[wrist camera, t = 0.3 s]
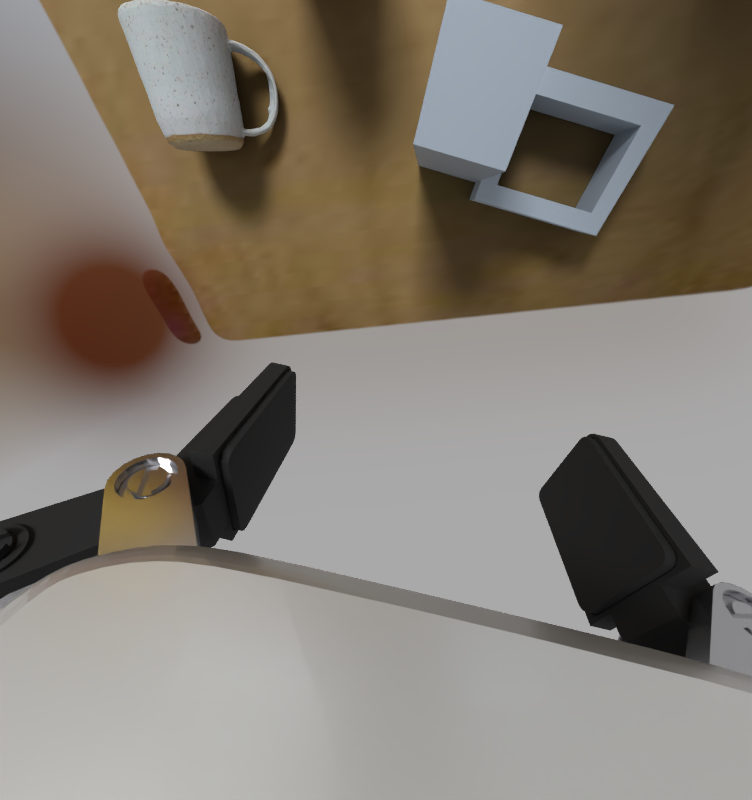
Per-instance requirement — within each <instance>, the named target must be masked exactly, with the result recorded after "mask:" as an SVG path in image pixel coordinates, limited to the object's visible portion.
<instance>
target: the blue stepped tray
mask: <svg viewBox="0 0 752 800" xmlns="http://www.w3.org/2000/svg"><path fill="white" fill-rule="evenodd" d="M562 27H563V25H561V24H558V23H555V22H551V21H548V20H545V19H541V18H538V17H535V16H532V15H528V14H525V13H522V12H519V11H515V10H512V9H509V8H506V7H502V6H499V5H496V4H492V3H489V2H486V1H483V0H447V4H446V8H445V12H444V16H443V21H442V25H441V29H440V33H439V38H438V42H437V46H436V50H435V55H434V59H433V63H432V67H431V72H430V76H429V80H428V84H427V88H426V93H425V97H424V101H423V105H422V110H421V114H420V118H419V122H418V127H417V131H416V135H415V139H414V144H413V145H414V149H415V153H416V157H417V161H418V165H419V166H421V167H425V168H428V169H431V170H435V171H438V172H441V173H445V174H448V175H452V176H455V177H458V178H462V179H465V180H469V181H472V182H475V185H474V188H473V191H472V193H471V196H470V199H469V200H471V201H475V202H478V203H481V204H485V205H488V206H492V207H495V208H498V209H502V210H505V211H509V212H512V213H515V214H519V215H522V216H526V217H529V218H532V219H536V220H539V221H543V222H546V223H549V224H553V225H556V226H560V227H563V228H566V229H570V230H573V231H577V232H581V233H585V234H590V235H595V236H596V235H597V233H598V232H599V230H600V228H601V227H602V225H603V223H604V222H605V220H606V218H607V217H608V215H609V213H610V212H611V210H612V208H613V207H614V205H615V203H616V202H617V200H618V199H619V197H620V195H621V194H622V192H623V190H624V189H625V187H626V185H627V184H628V182H629V180H630V179H631V177H632V175H633V174H634V172H635V170H636V169H637V167H638V165H639V164H640V162H641V160H642V159H643V157H644V155H645V154H646V152H647V150H648V149H649V147H650V145H651V144H652V142H653V140H654V139H655V137H656V135H657V134H658V132H659V130H660V129H661V127H662V125H663V124H664V122H665V120H666V119H667V117H668V115H669V114H670V112H671V110H672V109H673V107H674V105H673V104H669V103H666V102H663V101H659V100H656V99H653V98H649V97H646V96H643V95H640V94H636V93H633V92H630V91H626V90H623V89H620V88H617V87H613V86H610V85H607V84H603V83H600V82H597V81H594V80H590V79H587V78H584V77H580V76H577V75H574V74H570V73H567V72H564V71H561V70H557V69H554V68H551V67H547V65H548V62H549V60H550V57H551V55H552V52H553V49H554V47H555V44H556V42H557V39H558V37H559V34H560V32H561V29H562ZM530 109H531V110H534V111H537V112H541V113H544V114H547V115H551V116H554V117H557V118H560V119H564V120H567V121H570V122H574V123H577V124H580V125H584V126H587V127H590V128H594V129H597V130H600V131H604V132H607V133H610V134H614V137H613V139H612V141H611V143H610V144H609V146H608V148H607V150H606V152H605V154H604V156H603V158H602V159H601V161H600V163H599V165H598V167H597V169H596V171H595V172H594V174H593V176H592V178H591V180H590V182H589V184H588V185H587V187H586V189H585V191H584V193H583V195H582V197H581V198H580V200H579V202H578V204H577V206H576V208H573V207H570V206H566V205H563V204H560V203H556V202H553V201H549V200H546V199H543V198H539V197H536V196H533V195H529V194H526V193H522V192H519V191H516V190H512V189H509V188H506V187H502V186H499V185H497V184H498V181H499V179H500V176H501V174H502V173H503V172H505V171H506V169H507V166H508V164H509V161H510V159H511V156H512V154H513V151H514V148H515V146H516V143H517V141H518V138H519V136H520V133H521V131H522V128H523V126H524V123H525V121H526V118H527V115H528V113H529V110H530Z"/></svg>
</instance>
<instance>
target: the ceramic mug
mask: <svg viewBox="0 0 752 800" xmlns="http://www.w3.org/2000/svg"><path fill="white" fill-rule="evenodd" d="M118 17H119V21H120V23H121V26H122V28H123V31H124V33H125V36H126V39H127V41H128V44H129V47H130V49H131V52H132V55H133V58H134V60H135V63H136V66H137V68H138V71H139V74H140V76H141V79H142V81H143V84H144V87H145V89H146V92H147V94H148V97H149V100H150V103H151V106H152V109H153V111H154V114H155V117H156V119H157V122H158V124H159V126H160V128H161V130H162V132H163V134H164V136H165V138H166V140H167V141H168V142H169V144H171V145H172V146H173V147H175V148H176V149H181V150H189V151H232V150H238V149H241V147H242V146H243V144H244V137H245V136H252V137H253V136H258V135H261V134H264V133H266V132H267V131H269V130H270V129H271V128H272V127H273V125H274V123H275V121H276V118H277V114H278V93H277V87H276V82H275V79H274V76H273V75H272V73H271V71H270V69H269V67H268V66H267V64H266V63H265V62H264V61H263V59H262V58H261V57H260V56H259V55H258V54H257V53H256V52H255V51H253V50H252V49H250V48H248V47H247V46H245V45H243V44H241V43H238V42H236V41H233V40H229V39H228V37H227V32H226V29H225V27H224V25H223V24H222V23H221V21H220V20H219V19H218V18H216V17H215V16H213V15H211V14H209V13H208V12H206V11H204V10H201V9H199V8H196V7H193V6H189V5H187V4H183V3H179V2H171V1H167V0H134V1H130V2H126V3H124V4H122V5H121V6H120V7H119V9H118ZM233 51H234V52H237V53H240V54H243V55H245V56H247V57H249V58H250V59H252V60H253V61H255V62H256V63H257V64H258V65H259V66H260V67H261V68H262V69H263V71H264V72H265V73H266V76H267V79H268V83H269V92H270V106H269V108H268V111H269V117H268V121H267V122H266V123H265V124H264V125H263V126H262V127H260V128H255V129H245V128H244V127H243V121H242V114H241V110H240V103H239V100H238V95H237V88H236V82H235V74H234V70H233V64H232V58H231V52H233Z"/></svg>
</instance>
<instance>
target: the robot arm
mask: <svg viewBox="0 0 752 800" xmlns="http://www.w3.org/2000/svg"><path fill="white" fill-rule="evenodd" d="M295 424H296V374H295V372H292V371H291V368H290V367H289V366H286V365H281V364H277V363H270V364H269V365H268V366H267V367H266V368H265V369H264V370H263V372H262V373H260V375H259V376H258V377H257V378H256V379H255V380H254V381H253V382H252V383H251V384H250V385H249V386H248V387H247V388H246V389H245V390H244V391H243V392H242V393H241V394H240V395H239V396H236V397H234V398H233V399H231V400H230V402H229V403H227V405H226V406H225V407H224V408H223V409H222V410H221V411H220V412H219V413H218V414H217V415H216V416H215V417H214V418H213V419H212V420H211V421H210V422H209V423H208V424H207V425H206V426H205V427H204V428H203V429H202V430H201V431H200V432H199V433H198V434H197V435H196V436H195V437H194V438H193V439H192V440H191V441H190V442H189V443H188V444H187V445H186V446H185V447H184V448H183V449H182V450H181V452H179V454H178V455H177V456H175V455H172V454H169V453H154V454H147V455H144V456H141V457H138V458H135V459H133V460H131V461H129V462H127V463H125V464H123V465H122V466H121V467H120V468H118V469H117V470H116V471H114V472H113V474H112V475H111V476H110V477H109V479H108V480H107V483H106V485H105V488H104V489H102V490H98V491H95V492H92V493H89V494H86V495H83V496H79V497H76V498H73V499H70V500H67V501H63V502H61V503H57V504H54V505H51V506H48V507H44V508H41V509H38V510H35V511H32V512H28V513H25V514H22V515H19V516H16V517H13V518H10V519H6V520H3V521H0V800H752V593H750V592H748V591H746V590H745V589H743V588H741V587H738V586H736V585H733V584H730V583H725V582H720V583H718V584H715V585H713V586H710V584H709V583H708V582H707V580H706V578H708V577H710V576H712V575H714V574H716V573H717V572H718V571H717V569H716V568H715V567H714V566H713V564H712V563H711V562H710V560H709V559H708V558H707V557H706V555H705V554H704V553H703V551H702V550H701V549H700V548H699V546H698V545H697V544H696V543H695V541H694V540H693V539H692V538H691V536H690V535H689V534H688V532H687V531H686V530H685V528H684V527H683V526H682V525H681V523H680V522H679V521H678V519H677V518H676V517H675V516H674V514H673V513H672V512H671V510H670V509H669V508H668V507H667V505H666V504H665V503H664V502H663V500H662V499H661V498H660V496H659V495H658V494H657V493H656V491H655V490H654V489H653V487H652V486H651V485H650V484H649V482H648V481H647V480H646V479H645V477H644V476H643V475H642V473H641V472H640V471H639V469H638V468H637V467H636V466H635V464H634V463H633V462H632V461H631V459H630V458H629V457H628V455H627V454H626V453H625V452H624V450H623V449H622V448H621V446H620V445H619V444H618V443H617V441H616V440H615V439H613V438H609V437H605V436H601V435H596V434H590V435H588V436H587V437H583V438H581V439H580V440H579V442H578V443H577V444H576V445H575V447H574V448H573V449H572V450H571V452H570V453H569V454H568V455H567V457H566V458H565V459H564V461H563V462H562V463H561V464H560V466H559V467H558V468H557V469H556V471H555V472H554V473H553V474H552V476H551V477H550V478H549V479H548V481H547V482H546V483H545V485H544V486H543V487H542V488H541V490H540V493H539V498H540V502H541V505H542V507H543V510H544V513H545V515H546V518H547V520H548V523H549V526H550V528H551V531H552V534H553V537H554V539H555V542H556V545H557V547H558V550H559V553H560V555H561V558H562V561H563V564H564V566H565V569H566V572H567V574H568V576H569V579H570V582H571V585H572V588H573V590H574V593H575V596H576V598H577V601H578V603H579V606H580V607H581V609H582V610H583V611H585V613H586V616H587V618H588V621H589V623H590V626H594V627H598V628H602V629H607V630H612V629H614V628H615V627H617V629H618V632H619V634H620V636H619V639H618V640H614V639H610V638H605V637H602V636H597V635H593V634H589V633H585V632H581V631H577V630H573V629H569V628H565V627H560V626H556V625H552V624H548V623H544V622H540V621H536V620H531V619H527V618H523V617H519V616H514V615H510V614H506V613H502V612H498V611H493V610H489V609H485V608H481V607H477V606H472V605H468V604H464V603H460V602H456V601H452V600H447V599H443V598H439V597H435V596H430V595H426V594H422V593H418V592H414V591H409V590H405V589H400V588H396V587H392V586H388V585H383V584H379V583H375V582H371V581H366V580H362V579H358V578H353V577H349V576H345V575H340V574H336V573H331V572H328V571H323V570H319V569H314V568H310V567H306V566H301V565H297V564H292V563H286V562H282V561H278V560H273V559H268V558H264V557H259V556H254V555H249V554H245V553H239V552H234V551H228V550H221V549H215V548H211V547H213V546H215V545H216V543H217V541H218V539H219V538H223V539H227V540H231V541H232V540H233V539H234V537H235V535H236V533H237V532H238V530H241V531H243V530H244V529H245V528H246V527H247V525H248V523H249V522H250V520H251V518H252V516H253V514H254V513H255V511H256V509H257V507H258V505H259V503H260V502H261V500H262V498H263V496H264V494H265V492H266V490H267V489H268V487H269V485H270V483H271V481H272V480H273V478H274V476H275V474H276V472H277V471H278V469H279V467H280V465H281V464H282V461H283V460H284V458H285V456H286V454H287V453H288V451H289V449H290V447H291V445H292V444H293V441H294V438H295V430H296V428H295V427H296V426H295Z"/></svg>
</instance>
